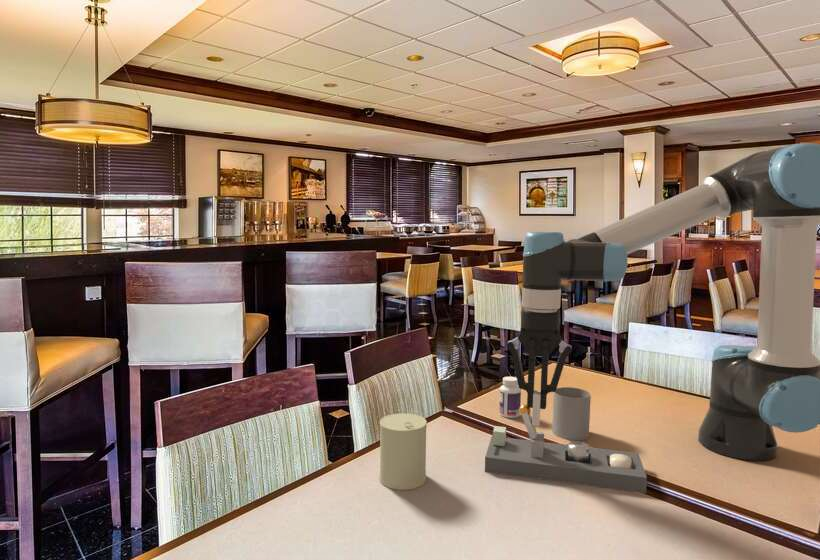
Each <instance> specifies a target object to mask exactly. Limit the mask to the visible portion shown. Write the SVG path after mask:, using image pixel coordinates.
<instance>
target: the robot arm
mask: <svg viewBox="0 0 820 560" xmlns="http://www.w3.org/2000/svg"><path fill="white" fill-rule="evenodd" d="M746 211H752V220H754V221H755V222H756V223H757V224H758V225H759V226H760V227H761V240H760V264H759V265H760V267H759V268H760V269H759V290H758V291H759V294H758V295H759V296H758V315H757V316H758V319H757V320H758V321H757V342H756V343H757V344H756V345H757V346H755V345H752V346H751V345H734V344H731V345H730V344H729V345H728V344H727V345H725V344H723V345H718V346H716V347H715V348H714V350H713V353H712V359H711V375H710V377H711V379H710V393H709V394H710V395H709V404H708V405H709V406H708V410H707V412H706V414H705V416H704V419H703V420H702V422H701V425H700V427H699V429H698V436H697V437H698V438H697V439H698V440H697V441H698V442H699V444H701V446H703V447H705V448H706V449H708V450H711V451H712V452H715V453H717V454H720V455H723V456H726V457H730V458H734V459H739V460H744V461H755V462H757V461H758V462H759V461H761V462H762V461H763V462H764V461H769V460H770V461H771V460H772V459H775V458H776V457H777V454H778V442H777V438H776V436H775V432H774V429H773V427H774V428H777V429H779V430H781V431H784V432H787V433H794V434H795V433H797V434H798V433H804V432H805V433H806V432H809V431H811V430H814V429H815V428H817V427H818V426H819V425H820V359H819V358H818V357H816V355H814V353H812V338H813V337H812V335H813V318H814V315H813V314H814V294H815V293H814V292H815V278H816V277H815V275H816V273H815V272H816V257H817V256H816V255H817V239H818V237H817V234H818V227H819V225H820V143H816V142H815V143H813V142H805V143H804V142H802V143H792V144H788V145H785V146H781V147H777V148H773V149H768V150H763V151H759V152H755V153H752V154H750V155H748V156H746V157H744V158H741V159H739V160H738V161H736V162H733V163H732V164H730V165H728V166H727V167H724V168H722V169H720V170H718V171H717V172H714V173H712V174H710V175H708V176H706V177H703V179H702V180H701V182H700V185H697V186H695V187H692V188H690V189H688V190H685V191H683V192H681V193H678V194H676V195H675V196H672V197H670V198H667V199H664V200H663V201H660V202H658V203H655V204H653V205H651V206H649V207H647V208H644V209H643V210H640V211H638V212H636V213H633V214H631V215H629V216H626V217H624V218H622V219H620V220H617V221H615V222H612V223H610V224H608V225H606V226H603V227H601V228H599V229H597V230H594V231H593V232H591V233H588V234H585V235H583V236H581V237H579V238H574V239H573V238H571V239H569V240H567V241H565V239H564V233H563V232H559V231H529V232H527V233H526V235H525V237H524V244H523V245H524V246H523V253H522V258H523V259H522V287H521V307H522V308H523V309H522V310H521V313H520V330H519V332H518V334H517V337H515V338H514V339H510V340H508V341H507V343H506V347H507V349H508V350H509V352H510V354H511V357H512V362H513V366H514V372H515V375H516V378H517V381H518V385H517V386H519V388H520V389H521V390H524V391H525V392H526V393H527V396H526V405H527V406H528V408H530V409H532V411H531V413H532V414H531V417H532V425H534V426H535V427H540V423H541V422H540V421H541V410H546V408H547V396H548V394H549V393H554V392H555V391H556V389H557V388H558V385H559V381H560V380H561V379H560V378H561V376H562V372H563V369H564V366H565V363H566V360H567V358H568V356H569V355H570V354H571V353H572V351H573V348H572V345H571V344H570V343H566V341H564V340H563V339H562V335H561V333H560V325H561V324H560V322H561V320H560V319H561V313H560V311H559V309H560V308H561V302H562V301H561V297H562V281H563V280H564V281H591V282H593V281H595V282H597V281H598V282H604V283H607V282H614V281H615V282H616V281H617V282H619V281H621V280H623V278H624V277H625V275H626V273H627V270H628V255H629V254H631V253H634V252H637V251H638V250H642V248H645V247H648V246H650V245H653V244H655V243H657V242H659V241H661V240H664V239H666V238H669V237H672V236H674V235H676V234H678V233H680V232H682V231H685V230H688V229H690V228H692V227H695V226H697V225H699V224H702V223H704V222H706V221H709V220H711V219H713V218H715V217H717V218H719V219H720V218H721V219H725V218H728V217H730V216H732V215H735V214H738V213H742V212H746ZM520 344H521V346H522V347H523V349H524V350H525V351H526V353H527V354H528V365H527V366H528V367H527V368H528V369H527V370H528V372H527V381H526V380H525V375H524V371H523V370H524V369H523V366H522V365H523V364H522V360H521V356H520V352H519V348H520ZM558 346H559V348H558ZM557 348H558V352H559V355H558V359H557V362H556V364H555V365H556V366H555V369H554V372H553V375H552V378H551V381H550V384H548V375H549V373H548V371H549V369H548V368H549V356H550V355H551V354H552V353H553V352H554V351H555V350H556V349H557ZM536 356H541V370H540V371H541V374H540V375H541V376H540V390H538V389H535V377H536V376H535V375H536V373H535V372H536Z"/></svg>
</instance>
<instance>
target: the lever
mask: <svg viewBox="0 0 820 560" xmlns="http://www.w3.org/2000/svg"><path fill="white" fill-rule="evenodd" d="M531 410H532V408H528V406H527V404H521V405H520V408H519V413H520V416H521V417H522V419H523V422H524V425H525V429H526V431H527V434H528V436H529V440H530V441H531V440H536V441H540V440H539V438H538V435H537V432H538V431H537V430H536V426H534V425H532V414H531V413H532V411H531Z"/></svg>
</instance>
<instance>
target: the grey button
mask: <svg viewBox="0 0 820 560" xmlns="http://www.w3.org/2000/svg"><path fill="white" fill-rule="evenodd" d="M567 445H568V461H572V462H580V463H588V461H589V447H590V445H589V444H588V443H586V442H583V441H581V440H570V441H569V442H568V444H567Z"/></svg>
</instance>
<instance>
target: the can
mask: <svg viewBox="0 0 820 560" xmlns="http://www.w3.org/2000/svg"><path fill="white" fill-rule="evenodd" d="M427 424H428V422H427V419H426V418H424V416H421V415H418V414H415V413H409V412H408V413H406V412H405V413H404V412H401V413H391V414H388V415H385V416H383V417H382V418H381V419H380V420H379V436H380V437H379V439H380V440H379V444H380V445H379V447H380V448H379V449H380V450H379V451H380V452H379V453H380V454H379V457H380V458H379V460H380V461H379V476H378V479H379V482H380V484H381V485H383V486H384V487H386V488H388V489H392V490H399V491H409V490H414V489H417V488H419V487H422V486H423V485H424V484H426V481H427V474H426V473H427V471H426V469H427V468H426V467H427V466H426V465H427V464H426V461H427V460H426V458H427Z"/></svg>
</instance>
